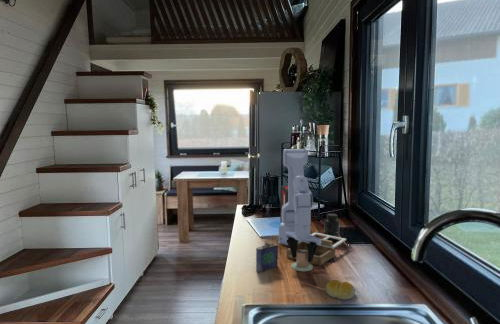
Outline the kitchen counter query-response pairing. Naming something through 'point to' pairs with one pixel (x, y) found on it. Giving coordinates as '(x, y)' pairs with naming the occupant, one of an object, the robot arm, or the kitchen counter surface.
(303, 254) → the brown cylinder
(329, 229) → the supplement bottle
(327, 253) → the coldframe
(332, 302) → the kitchen counter surface
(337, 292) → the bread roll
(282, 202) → the cleaning product box
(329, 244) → the frame
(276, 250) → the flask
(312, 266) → the saucer
